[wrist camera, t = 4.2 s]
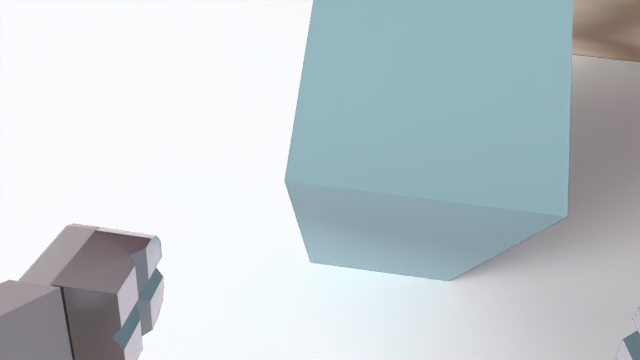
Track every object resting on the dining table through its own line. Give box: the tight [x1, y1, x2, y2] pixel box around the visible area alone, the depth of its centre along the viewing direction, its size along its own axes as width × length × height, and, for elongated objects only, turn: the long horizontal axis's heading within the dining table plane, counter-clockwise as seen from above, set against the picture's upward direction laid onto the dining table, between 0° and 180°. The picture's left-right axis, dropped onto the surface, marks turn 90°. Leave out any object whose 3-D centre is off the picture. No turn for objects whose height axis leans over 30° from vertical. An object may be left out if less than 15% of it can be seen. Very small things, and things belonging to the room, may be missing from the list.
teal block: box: [285, 0, 573, 281], centre depth 16 cm, size 5×5×11 cm
